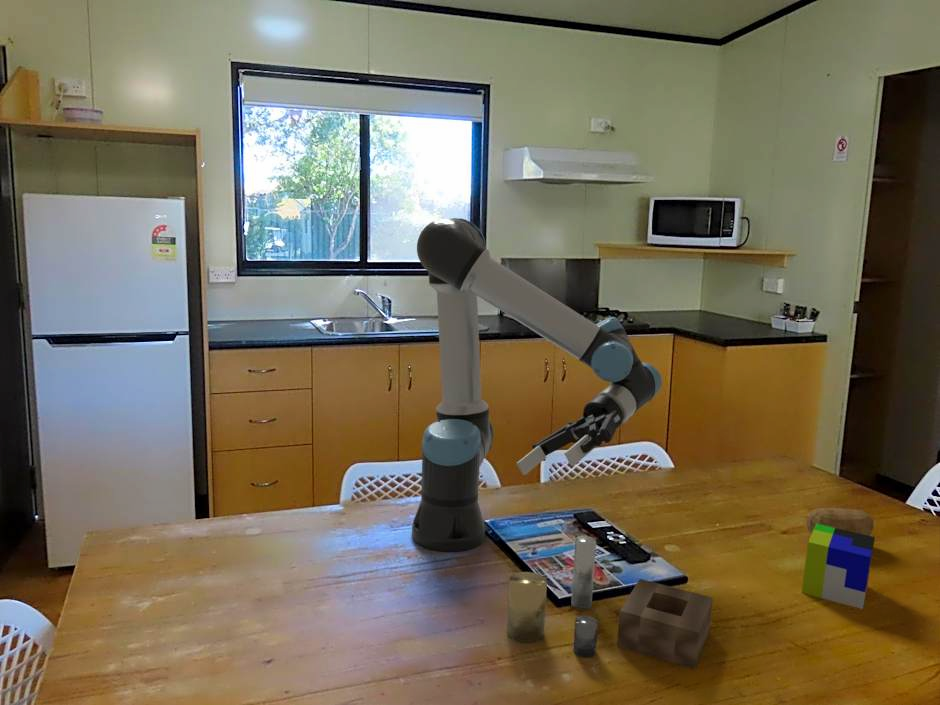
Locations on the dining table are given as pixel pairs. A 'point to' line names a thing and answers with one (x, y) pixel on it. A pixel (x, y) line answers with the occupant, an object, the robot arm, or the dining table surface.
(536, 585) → the fat brass roller
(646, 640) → the walnut block
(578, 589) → the steel roller
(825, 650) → the dining table surface
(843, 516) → the potato
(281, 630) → the dining table surface
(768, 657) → the dining table surface
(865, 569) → the puzzle toy
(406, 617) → the dining table surface
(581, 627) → the short dark roller
